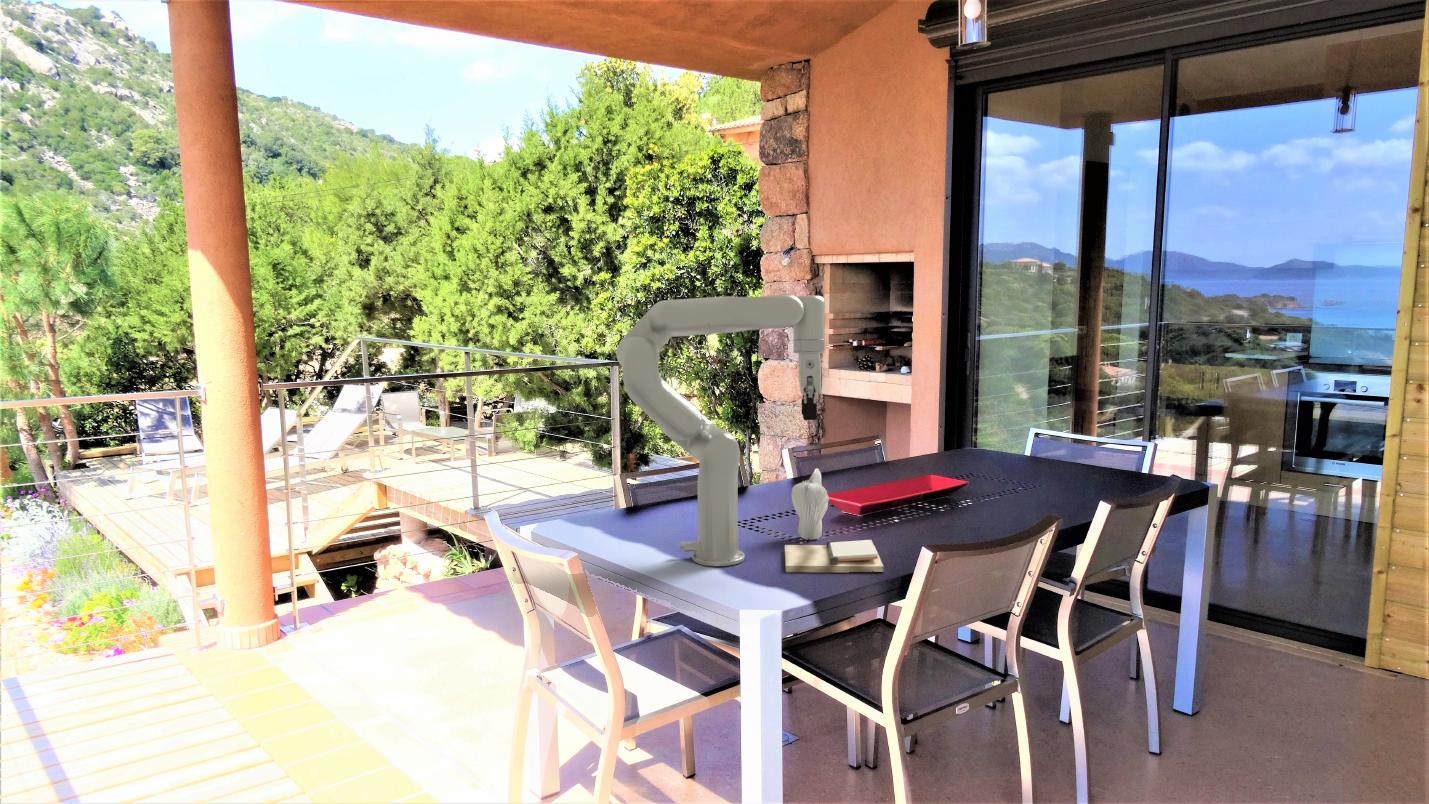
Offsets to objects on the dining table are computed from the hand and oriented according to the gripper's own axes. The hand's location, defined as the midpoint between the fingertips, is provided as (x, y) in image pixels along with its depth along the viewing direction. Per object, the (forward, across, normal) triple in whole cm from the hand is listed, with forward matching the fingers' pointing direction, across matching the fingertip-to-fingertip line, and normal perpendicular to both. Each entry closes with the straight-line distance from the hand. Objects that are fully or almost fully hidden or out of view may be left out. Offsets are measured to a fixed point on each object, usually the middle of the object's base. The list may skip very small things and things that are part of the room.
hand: (808, 417), depth 210 cm
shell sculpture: (+34, +11, -1) cm, 35 cm away
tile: (+30, -9, -10) cm, 33 cm away
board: (+33, -9, -5) cm, 35 cm away
